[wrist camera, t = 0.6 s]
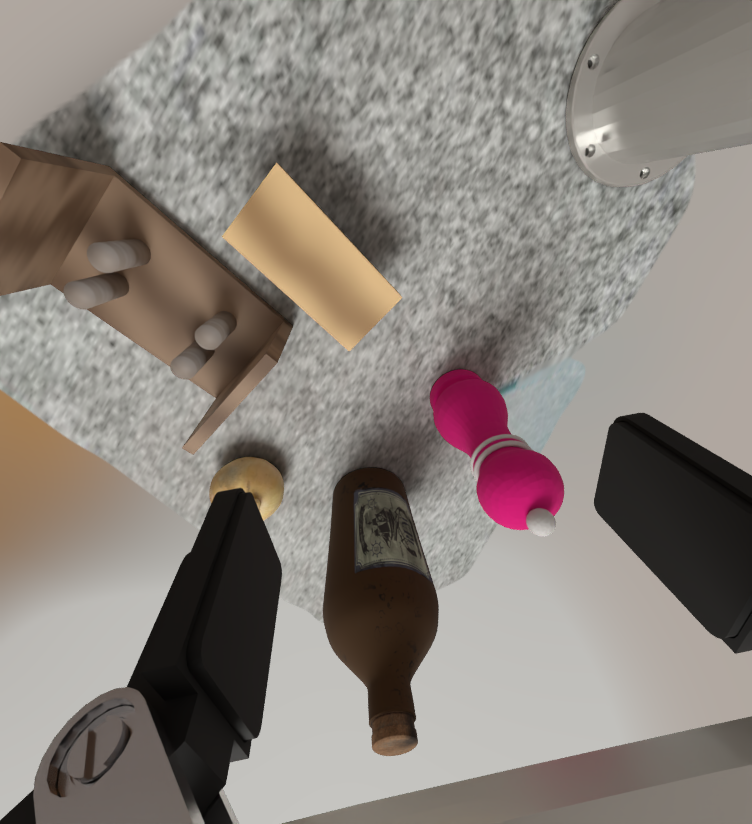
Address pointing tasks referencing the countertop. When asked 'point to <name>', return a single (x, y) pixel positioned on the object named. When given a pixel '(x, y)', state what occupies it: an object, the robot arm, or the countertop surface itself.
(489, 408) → the pepper mill
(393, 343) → the countertop surface
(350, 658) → the olive oil
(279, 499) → the onion
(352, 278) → the oak board
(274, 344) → the shelf cradle
